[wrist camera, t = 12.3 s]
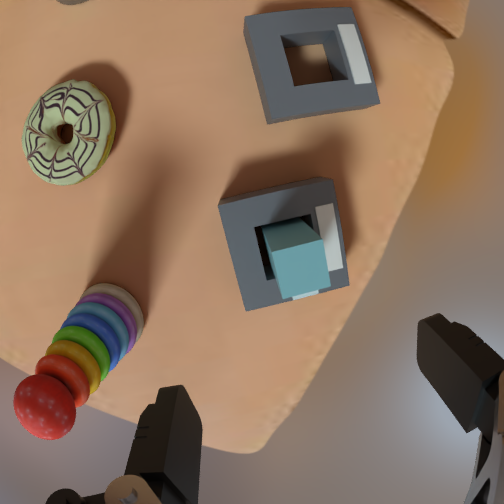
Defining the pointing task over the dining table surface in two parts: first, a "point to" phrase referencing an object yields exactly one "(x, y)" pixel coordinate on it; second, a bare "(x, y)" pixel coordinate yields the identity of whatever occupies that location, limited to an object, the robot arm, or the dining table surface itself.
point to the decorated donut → (84, 132)
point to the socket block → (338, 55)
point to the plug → (296, 258)
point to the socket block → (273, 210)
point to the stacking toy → (78, 360)
